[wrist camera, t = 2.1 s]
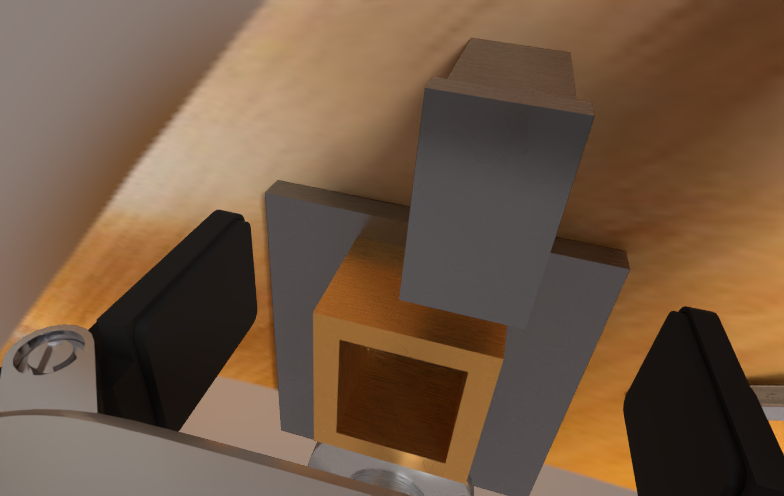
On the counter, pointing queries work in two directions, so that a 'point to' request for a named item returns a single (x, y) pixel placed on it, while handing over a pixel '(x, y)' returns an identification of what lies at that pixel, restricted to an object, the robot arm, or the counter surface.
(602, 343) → the counter surface
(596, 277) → the post
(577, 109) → the tall grey pillar block
